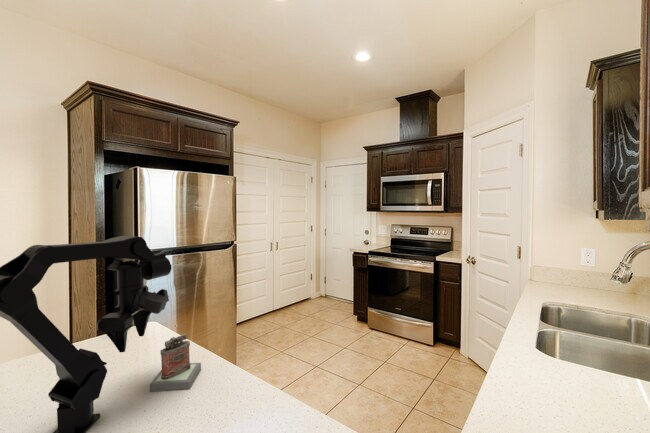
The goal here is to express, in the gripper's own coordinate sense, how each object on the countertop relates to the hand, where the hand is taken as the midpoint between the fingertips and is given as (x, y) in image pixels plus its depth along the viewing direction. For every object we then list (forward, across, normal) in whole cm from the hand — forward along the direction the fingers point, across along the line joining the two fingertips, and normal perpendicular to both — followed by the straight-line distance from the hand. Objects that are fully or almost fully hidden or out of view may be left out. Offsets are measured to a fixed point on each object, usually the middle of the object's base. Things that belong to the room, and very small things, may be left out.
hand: (132, 343), depth 80 cm
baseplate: (+13, +5, -9) cm, 17 cm away
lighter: (+11, +5, -9) cm, 15 cm away
